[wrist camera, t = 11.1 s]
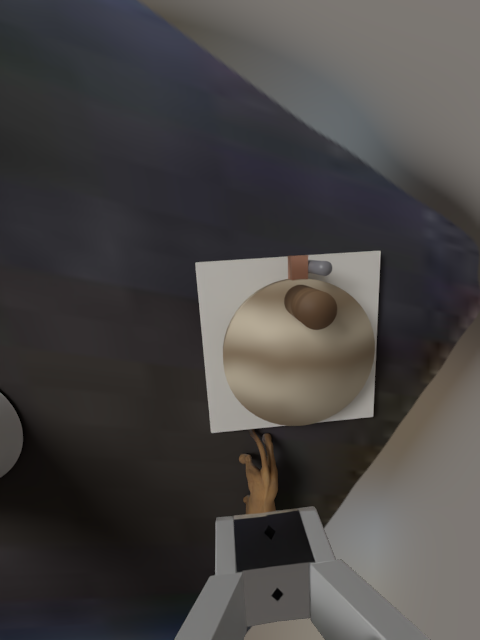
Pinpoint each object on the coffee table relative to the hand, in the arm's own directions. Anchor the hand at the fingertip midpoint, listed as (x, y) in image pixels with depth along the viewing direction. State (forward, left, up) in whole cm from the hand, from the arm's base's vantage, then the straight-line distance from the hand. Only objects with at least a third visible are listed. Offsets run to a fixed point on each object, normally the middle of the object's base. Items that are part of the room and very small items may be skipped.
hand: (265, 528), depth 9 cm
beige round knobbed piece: (+7, -1, -21) cm, 22 cm away
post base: (+6, -2, -24) cm, 25 cm away
